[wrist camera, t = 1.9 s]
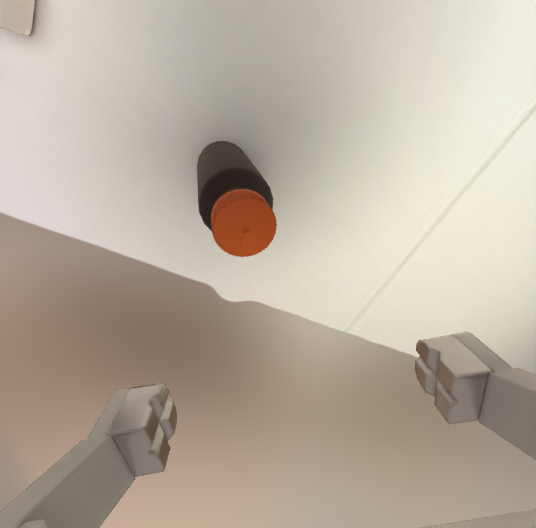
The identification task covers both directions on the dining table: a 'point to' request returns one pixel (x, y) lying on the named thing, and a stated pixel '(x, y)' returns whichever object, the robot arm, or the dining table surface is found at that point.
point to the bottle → (234, 200)
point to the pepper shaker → (17, 15)
